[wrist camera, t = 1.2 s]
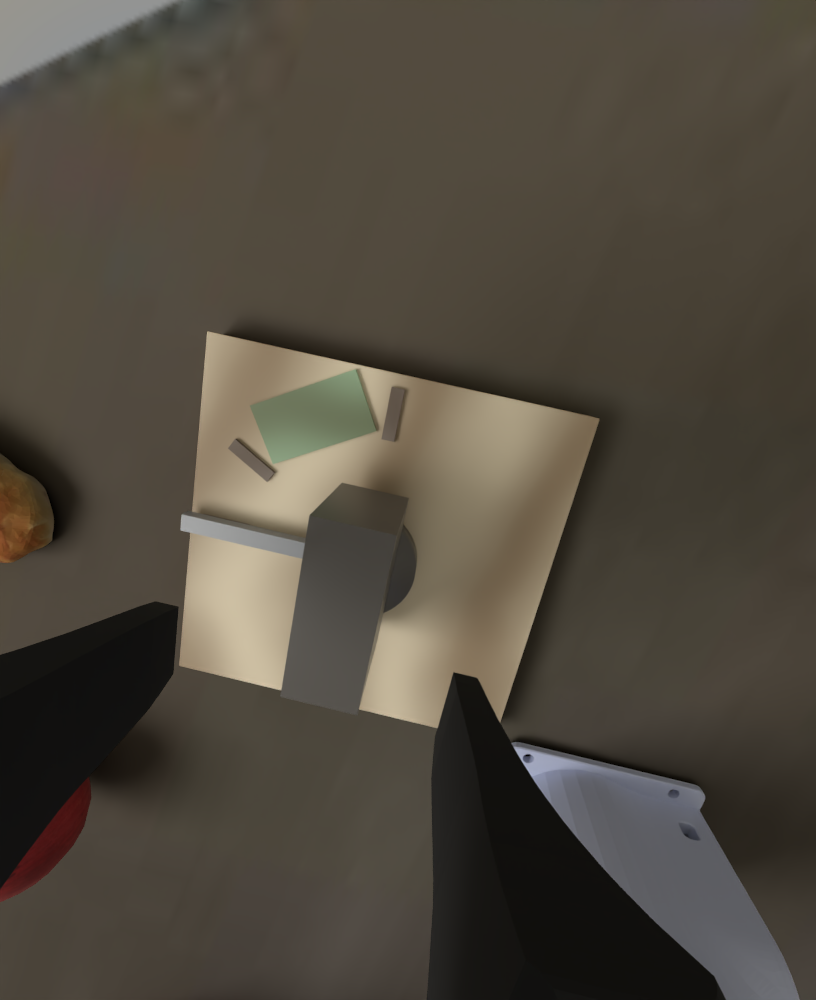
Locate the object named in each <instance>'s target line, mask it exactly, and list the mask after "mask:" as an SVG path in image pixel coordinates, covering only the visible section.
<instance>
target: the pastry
mask: <svg viewBox="0 0 816 1000" xmlns="http://www.w3.org/2000/svg"><path fill="white" fill-rule="evenodd" d="M53 529H54V517H53V512H52V508H51V504H50V501H49V498H48V495H47V492H46V490H45V488H44V487H43V486H42V485H41V484H40V483H39V482H38V480H37V479H35V478H34V477H33V476H31V475H29V474H26V473H24V472H22V471H21V470H19V469H18V468H17V467H16V466H14V465H13V464H12V462H11V461H10V460H8V459H7V458H6V457H4V456H3V455H2V454H0V562H3V563H10V562H14V561H16V560H18V559H20V558H22V557H24V556H25V555H27V554H28V553H30V552H32V551H35V550H37V549H40V548H42V547H44V546H46V545H48V544H49V543H50V542H51V541H52V534H53Z"/></svg>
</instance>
